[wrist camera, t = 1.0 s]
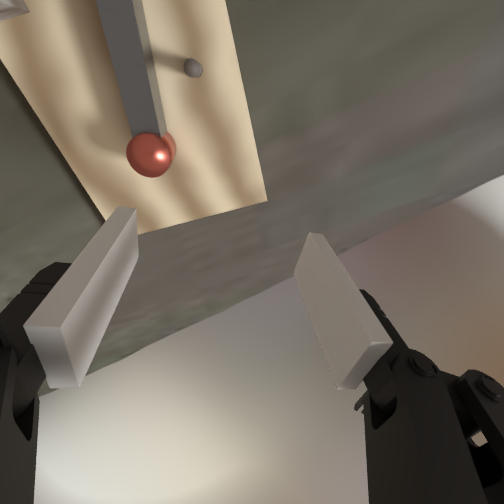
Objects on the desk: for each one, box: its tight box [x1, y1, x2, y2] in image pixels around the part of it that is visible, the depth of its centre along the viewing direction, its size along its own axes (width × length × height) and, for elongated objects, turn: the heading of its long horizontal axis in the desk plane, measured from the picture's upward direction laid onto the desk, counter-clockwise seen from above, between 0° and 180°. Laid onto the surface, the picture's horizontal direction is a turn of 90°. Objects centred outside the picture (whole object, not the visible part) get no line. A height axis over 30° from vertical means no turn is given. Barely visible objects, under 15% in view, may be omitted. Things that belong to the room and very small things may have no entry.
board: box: [0, 0, 267, 235], centre depth 21 cm, size 19×30×7 cm, turn 13°
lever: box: [96, 0, 176, 178], centre depth 20 cm, size 4×18×4 cm, turn 1°
